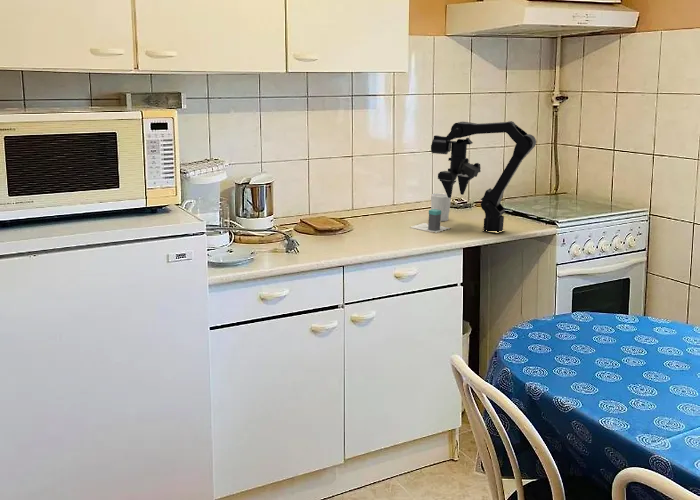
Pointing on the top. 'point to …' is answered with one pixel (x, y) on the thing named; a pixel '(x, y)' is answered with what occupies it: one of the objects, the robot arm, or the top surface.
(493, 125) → the robot arm
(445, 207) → the white cup
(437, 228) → the cylinder
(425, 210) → the top surface
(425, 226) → the paper
